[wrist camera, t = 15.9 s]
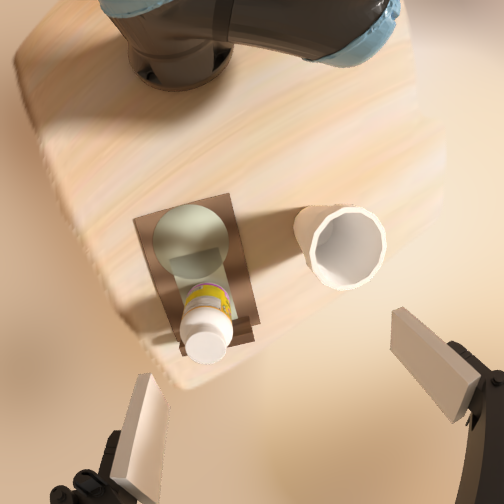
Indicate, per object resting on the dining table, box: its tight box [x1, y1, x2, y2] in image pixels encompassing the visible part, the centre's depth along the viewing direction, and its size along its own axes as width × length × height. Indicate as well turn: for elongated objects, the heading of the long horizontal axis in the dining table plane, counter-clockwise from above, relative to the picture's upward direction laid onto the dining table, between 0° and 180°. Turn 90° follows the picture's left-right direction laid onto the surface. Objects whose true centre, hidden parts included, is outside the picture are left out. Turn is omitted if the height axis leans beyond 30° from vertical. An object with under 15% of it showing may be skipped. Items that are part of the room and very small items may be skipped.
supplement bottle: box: [180, 282, 233, 364], centre depth 37 cm, size 7×7×13 cm
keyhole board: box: [135, 193, 261, 356], centre depth 39 cm, size 21×14×5 cm, turn 12°
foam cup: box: [293, 204, 387, 291], centre depth 36 cm, size 10×9×13 cm
